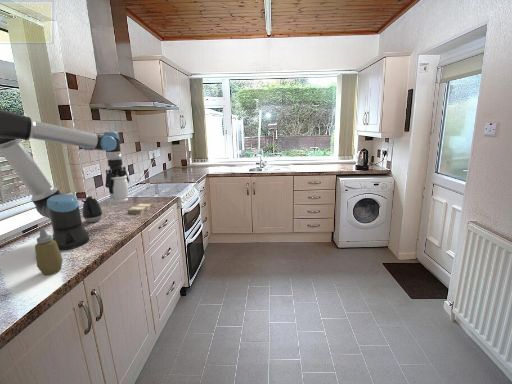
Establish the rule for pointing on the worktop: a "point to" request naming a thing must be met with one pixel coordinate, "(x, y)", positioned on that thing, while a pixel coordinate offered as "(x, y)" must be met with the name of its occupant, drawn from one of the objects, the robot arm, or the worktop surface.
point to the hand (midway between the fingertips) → (119, 196)
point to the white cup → (120, 188)
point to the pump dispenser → (91, 209)
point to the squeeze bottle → (47, 254)
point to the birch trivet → (140, 208)
